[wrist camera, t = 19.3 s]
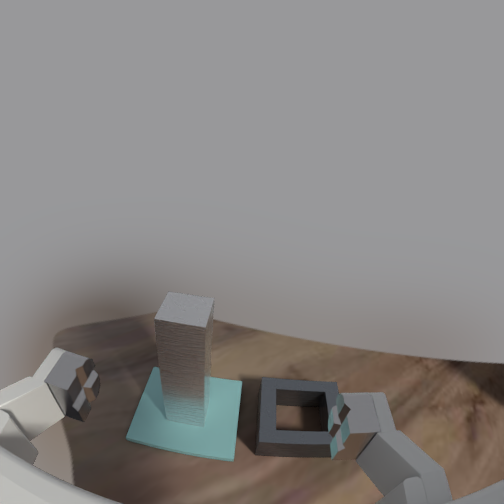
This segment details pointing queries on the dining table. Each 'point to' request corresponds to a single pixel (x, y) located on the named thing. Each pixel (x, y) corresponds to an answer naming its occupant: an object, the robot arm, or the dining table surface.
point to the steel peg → (185, 356)
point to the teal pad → (183, 435)
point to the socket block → (293, 395)
